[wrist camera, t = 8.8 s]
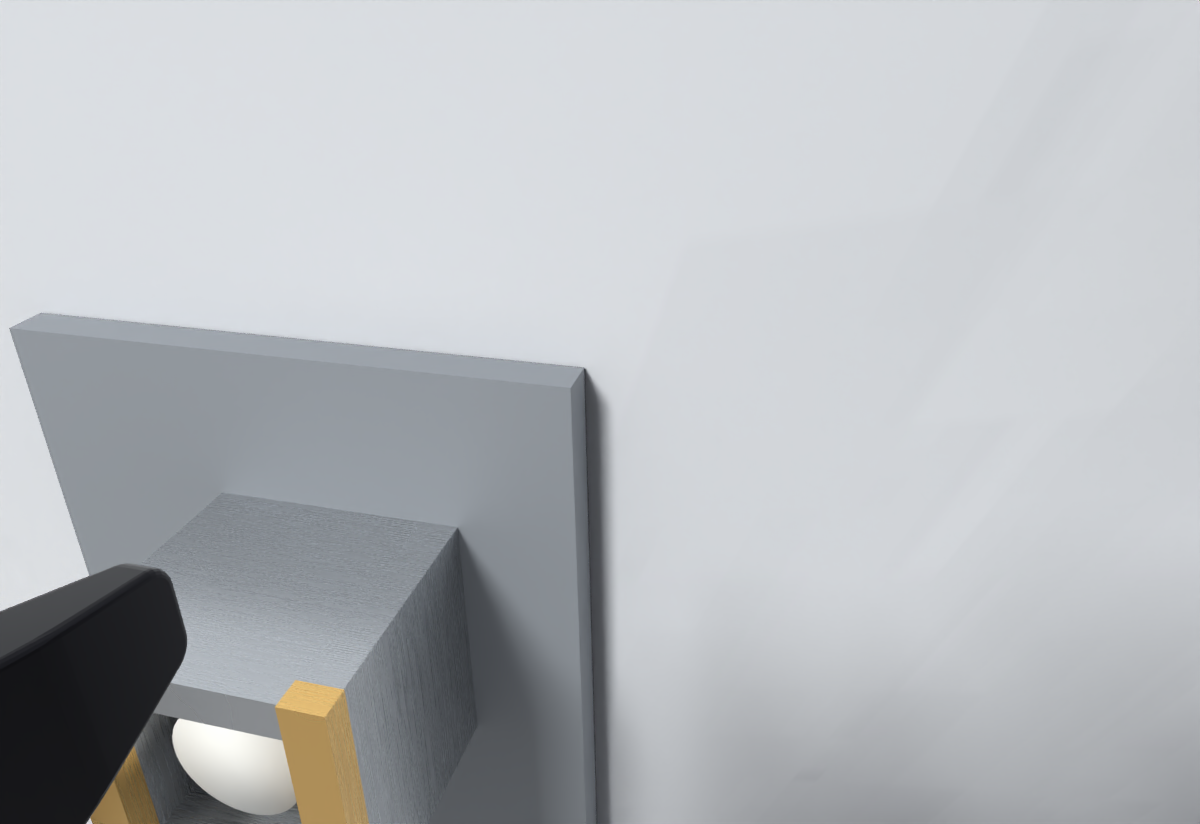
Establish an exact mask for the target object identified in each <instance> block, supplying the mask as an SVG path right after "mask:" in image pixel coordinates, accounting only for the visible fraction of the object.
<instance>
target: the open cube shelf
mask: <svg viewBox="0 0 1200 824" xmlns="http://www.w3.org/2000/svg"><path fill="white" fill-rule="evenodd" d="M140 565H143V566H149V567H155V568H159V569H161V570H163V571H165V572H166V573H167V574H168V575H169V577H170V578H171V580H172V583H173V586H174V590H175V593H176V597H177V600H178V604H179V608H180V611H181V615H182V618H183V622H184V626H185V629H186V633H187V649H186V654H185V657H184V660H183V662H182V664H181V666H180V668H179V669H178V671H177V673H176V674H175V676H174V678H173V680H172V681H171V683H170V685H169V686H168V688H167V690H166V692H165V693H164V695H163V697H162V698H161V700H160V702H159V704H158V705H157V707H156V709H155V711H154V712H153V714H152V716H151V717H150V719H149V721H148V723H147V724H146V726H145V728H144V729H143V731H142V733H141V735H140V736H139V738H138V740H137V741H136V743H135V745H134V747H133V748H132V750H131V752H130V753H129V755H128V757H127V759H126V760H125V762H124V764H123V765H122V767H121V769H120V771H119V772H118V774H117V776H116V777H115V779H114V781H113V783H112V784H111V786H110V787H109V789H108V791H107V792H106V794H105V796H104V797H103V799H102V800H101V802H100V804H99V805H98V807H97V808H96V810H95V811H94V813H93V814H92V816H91V817H90V818H91V820H92V823H93V824H428V822H429V820H430V818H431V816H432V814H433V812H434V810H435V809H436V807H437V805H438V803H439V801H440V799H441V797H442V795H443V793H444V791H445V789H446V787H447V785H448V783H449V781H450V779H451V777H452V775H453V773H454V771H455V769H456V767H457V765H458V763H459V761H460V760H461V758H462V756H463V754H464V752H465V750H466V748H467V746H468V744H469V742H470V740H471V738H472V736H473V734H474V732H475V730H476V728H477V726H478V723H477V713H476V703H475V694H474V684H473V674H472V664H471V654H470V644H469V634H468V624H467V615H466V605H465V595H464V585H463V575H462V565H461V555H460V545H459V536H458V527H453V526H446V525H440V524H433V523H426V522H419V521H413V520H406V519H399V518H392V517H386V516H379V515H372V514H365V513H359V512H352V511H345V510H338V509H332V508H325V507H318V506H311V505H305V504H298V503H291V502H284V501H278V500H271V499H264V498H257V497H251V496H244V495H237V494H231V493H224V492H222V493H221V494H220V495H219V496H218V497H217V498H215V499H214V500H213V501H212V502H211V503H210V504H209V505H207V506H206V507H205V508H204V509H203V510H202V511H201V512H199V513H198V514H197V515H196V516H195V517H194V518H193V519H191V520H190V521H189V522H188V523H187V524H186V525H185V526H184V527H182V528H181V529H180V530H179V531H178V532H177V533H176V534H174V535H173V536H172V537H171V538H170V539H169V540H168V541H166V542H165V543H164V544H163V545H162V546H161V547H160V548H158V549H157V550H156V551H155V552H154V553H153V554H152V555H150V556H149V557H148V558H147V559H146V560H145V561H144V562H143V563H141V564H140ZM178 719H184V720H189V721H193V722H198V723H203V724H207V725H212V726H217V727H221V728H226V729H230V730H235V731H240V732H244V733H249V734H254V735H258V736H263V737H268V738H272V739H277V740H282V741H283V745H284V750H285V754H286V758H287V763H288V767H289V771H290V776H291V780H292V784H293V789H294V793H295V797H296V803H295V805H294V806H293V807H292V808H290V809H289V810H287V811H285V812H283V813H280V814H275V815H256V814H251V813H247V812H244V811H240V810H238V809H235V808H233V807H230V806H228V805H226V804H224V803H222V802H221V801H219V800H217V799H216V798H214V797H213V796H211V795H210V794H208V793H207V792H206V791H205V790H203V789H202V788H201V787H200V786H199V785H198V784H197V783H196V782H195V781H194V780H193V779H192V778H191V777H190V776H189V775H188V773H187V772H186V771H185V769H184V768H183V766H182V765H181V763H180V761H179V760H178V758H177V755H176V753H175V750H174V746H173V740H172V734H173V729H174V725H175V724H176V722H177V720H178Z"/></svg>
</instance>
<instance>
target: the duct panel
mask: <svg viewBox="0 0 1200 824" xmlns="http://www.w3.org/2000/svg"><path fill="white" fill-rule="evenodd" d="M9 329H10V332H11V335H12V338H13V341H14V344H15V347H16V350H17V354H18V357H19V360H20V363H21V366H22V369H23V372H24V375H25V378H26V381H27V384H28V387H29V391H30V394H31V397H32V400H33V403H34V406H35V409H36V412H37V415H38V418H39V421H40V424H41V428H42V431H43V434H44V437H45V440H46V443H47V446H48V449H49V452H50V455H51V458H52V462H53V465H54V468H55V471H56V474H57V477H58V480H59V483H60V486H61V489H62V492H63V495H64V499H65V502H66V505H67V508H68V511H69V514H70V517H71V520H72V523H73V526H74V529H75V532H76V536H77V539H78V542H79V545H80V548H81V551H82V554H83V557H84V560H85V563H86V566H87V569H88V573H89V576H91V575H93V574H96V573H98V572H101V571H103V570H106V569H108V568H111V567H113V566H116V565H119V564H125V563H130V564H137V565H140V564H141V563H143V562H144V561H145V560H146V559H147V558H148V557H149V556H150V555H152V554H153V553H154V552H155V551H156V550H157V549H158V548H160V547H161V546H162V545H163V544H164V543H165V542H166V541H168V540H169V539H170V538H171V537H172V536H173V535H174V534H176V533H177V532H178V531H179V530H180V529H181V528H182V527H184V526H185V525H186V524H187V523H188V522H189V521H190V520H191V519H193V518H194V517H195V516H196V515H197V514H198V513H199V512H201V511H202V510H203V509H204V508H205V507H206V506H207V505H209V504H210V503H211V502H212V501H213V500H214V499H215V498H217V497H218V496H219V495H220V494H221V493H222V492H224V493H231V494H237V495H244V496H251V497H257V498H264V499H271V500H278V501H284V502H291V503H298V504H305V505H311V506H318V507H325V508H332V509H338V510H345V511H352V512H359V513H365V514H372V515H379V516H386V517H392V518H399V519H406V520H413V521H419V522H426V523H433V524H440V525H446V526H453V527H458V536H459V545H460V555H461V565H462V575H463V585H464V595H465V605H466V615H467V624H468V634H469V644H470V654H471V664H472V674H473V684H474V694H475V703H476V713H477V723H478V726H477V728H476V730H475V732H474V734H473V736H472V738H471V740H470V742H469V744H468V746H467V748H466V750H465V752H464V754H463V756H462V758H461V760H460V761H459V763H458V765H457V767H456V769H455V771H454V773H453V775H452V777H451V779H450V781H449V783H448V785H447V787H446V789H445V791H444V793H443V795H442V797H441V799H440V801H439V803H438V805H437V807H436V809H435V810H434V812H433V814H432V816H431V818H430V820H429V822H428V824H597V818H596V782H595V745H594V709H593V673H592V636H591V600H590V564H589V527H588V491H587V455H586V418H585V382H584V368H582V367H572V366H562V365H552V364H542V363H532V362H522V361H512V360H502V359H493V358H483V357H473V356H463V355H453V354H443V353H433V352H423V351H413V350H403V349H393V348H383V347H374V346H364V345H354V344H344V343H334V342H324V341H314V340H304V339H294V338H284V337H274V336H264V335H255V334H245V333H235V332H225V331H215V330H205V329H195V328H185V327H175V326H165V325H155V324H146V323H136V322H126V321H116V320H106V319H96V318H86V317H76V316H66V315H56V314H46V313H40V314H38V315H36V316H34V317H32V318H29V319H27V320H25V321H23V322H21V323H19V324H17V325H15V326H13V327H11V328H9ZM172 740H173V746H174V750H175V753H176V755H177V758H178V760H179V761H180V763H181V765H182V766H183V768H184V769H185V771H186V772H187V773H188V775H189V776H190V777H191V778H192V779H193V780H194V781H195V782H196V783H197V784H198V785H199V786H200V787H201V788H202V789H203V790H205V791H206V792H207V793H208V794H210V795H211V796H213V797H214V798H216V799H217V800H219V801H221V802H222V803H224V804H226V805H228V806H230V807H233V808H235V809H238V810H240V811H244V812H247V813H251V814H256V815H275V814H280V813H283V812H285V811H287V810H289V809H290V808H292V807H293V806H294V805H295V803H296V797H295V793H294V789H293V784H292V780H291V776H290V771H289V767H288V763H287V758H286V754H285V750H284V745H283V741H282V740H277V739H272V738H268V737H263V736H258V735H254V734H249V733H244V732H240V731H235V730H230V729H226V728H221V727H217V726H212V725H207V724H203V723H198V722H193V721H189V720H184V719H178V720H177V722H176V724H175V725H174V729H173V734H172Z"/></svg>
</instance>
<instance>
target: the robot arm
mask: <svg viewBox="0 0 1200 824" xmlns="http://www.w3.org/2000/svg"><path fill="white" fill-rule="evenodd" d="M186 649H187V633H186V629H185V626H184V622H183V618H182V615H181V611H180V608H179V604H178V600H177V597H176V593H175V590H174V586H173V583H172V580H171V578H170V577H169V575H168V574H167V573H166V572H165V571H163V570H161V569H159V568H155V567H149V566H143V565H137V564H130V563H125V564H119V565H116V566H113V567H111V568H108V569H106V570H103V571H101V572H98V573H96V574H93V575H91V576H88V577H86V578H83V579H80V580H78V581H75V582H73V583H70V584H68V585H65V586H63V587H60V588H58V589H55V590H53V591H50V592H48V593H45V594H43V595H40V596H38V597H35V598H33V599H30V600H28V601H25V602H23V603H20V604H18V605H15V606H13V607H10V608H8V609H5V610H3V611H0V824H86V823H87V822H88V820H89V819H90V817H91V816H92V814H93V813H94V811H95V810H96V808H97V807H98V805H99V804H100V802H101V800H102V799H103V797H104V796H105V794H106V792H107V791H108V789H109V787H110V786H111V784H112V783H113V781H114V779H115V777H116V776H117V774H118V772H119V771H120V769H121V767H122V765H123V764H124V762H125V760H126V759H127V757H128V755H129V753H130V752H131V750H132V748H133V747H134V745H135V743H136V741H137V740H138V738H139V736H140V735H141V733H142V731H143V729H144V728H145V726H146V724H147V723H148V721H149V719H150V717H151V716H152V714H153V712H154V711H155V709H156V707H157V705H158V704H159V702H160V700H161V698H162V697H163V695H164V693H165V692H166V690H167V688H168V686H169V685H170V683H171V681H172V680H173V678H174V676H175V674H176V673H177V671H178V669H179V668H180V666H181V664H182V662H183V660H184V657H185V654H186Z"/></svg>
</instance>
